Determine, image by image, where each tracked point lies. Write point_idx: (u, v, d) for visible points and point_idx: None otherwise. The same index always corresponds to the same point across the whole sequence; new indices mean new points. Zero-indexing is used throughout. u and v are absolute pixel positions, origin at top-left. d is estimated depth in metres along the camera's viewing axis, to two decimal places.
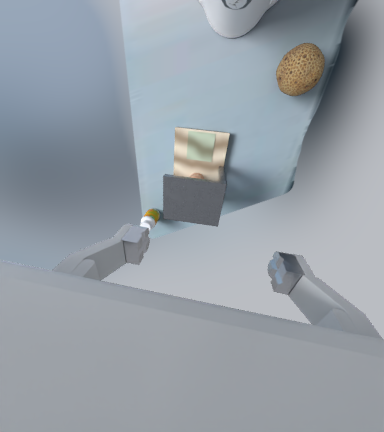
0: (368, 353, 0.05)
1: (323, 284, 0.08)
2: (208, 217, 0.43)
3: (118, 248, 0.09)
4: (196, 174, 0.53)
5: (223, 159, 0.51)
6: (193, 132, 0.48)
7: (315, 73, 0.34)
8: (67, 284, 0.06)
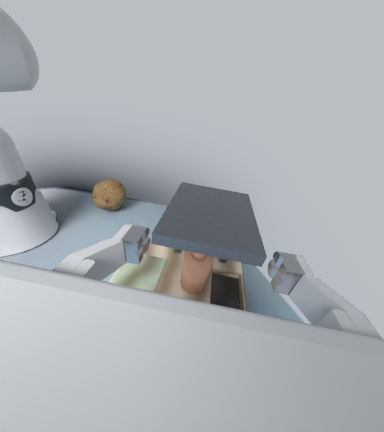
0: (368, 353, 0.05)
1: (323, 284, 0.08)
2: (235, 199, 0.27)
3: (118, 248, 0.09)
4: (181, 273, 0.31)
5: (166, 247, 0.39)
6: (116, 276, 0.31)
7: (114, 180, 0.48)
8: (67, 284, 0.06)
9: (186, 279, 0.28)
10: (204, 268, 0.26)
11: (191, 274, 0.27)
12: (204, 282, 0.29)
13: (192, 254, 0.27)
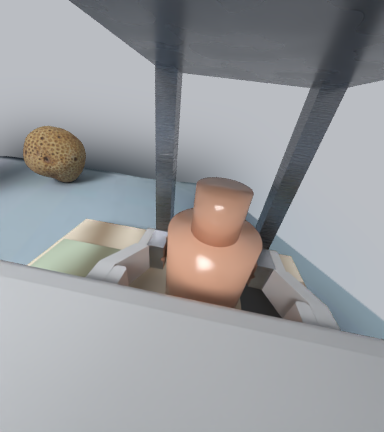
0: (368, 353, 0.05)
1: (292, 278, 0.08)
2: None
3: (144, 253, 0.09)
4: None
5: (141, 231, 0.20)
6: None
7: (63, 129, 0.30)
8: (67, 284, 0.06)
9: None
10: (241, 270, 0.07)
11: (192, 292, 0.08)
12: None
13: (194, 225, 0.08)
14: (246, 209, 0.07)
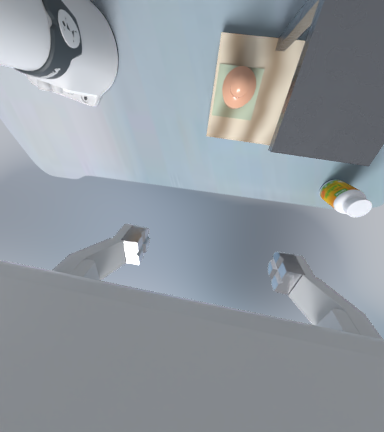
0: (368, 353, 0.05)
1: (323, 284, 0.08)
2: None
3: (118, 248, 0.09)
4: None
5: (264, 40, 0.28)
6: (214, 106, 0.33)
7: None
8: (67, 284, 0.06)
9: (226, 104, 0.30)
10: None
11: (229, 106, 0.28)
12: None
13: (230, 90, 0.25)
14: (245, 93, 0.24)
